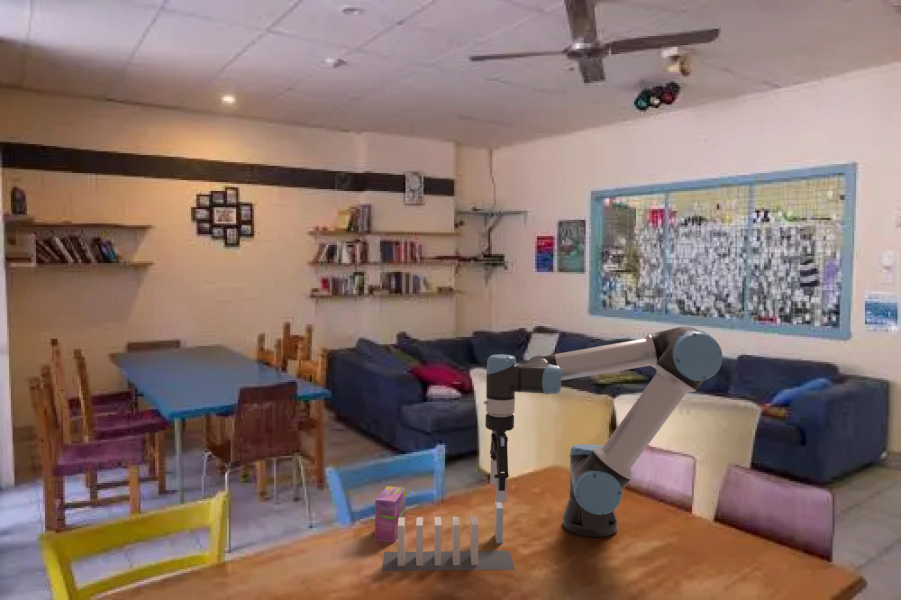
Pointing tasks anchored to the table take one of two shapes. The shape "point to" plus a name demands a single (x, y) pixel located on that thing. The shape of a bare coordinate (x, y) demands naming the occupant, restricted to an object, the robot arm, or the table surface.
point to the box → (389, 513)
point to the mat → (449, 561)
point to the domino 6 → (498, 522)
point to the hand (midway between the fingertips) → (498, 492)
